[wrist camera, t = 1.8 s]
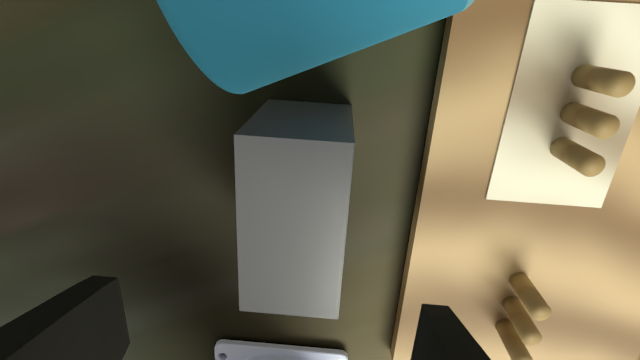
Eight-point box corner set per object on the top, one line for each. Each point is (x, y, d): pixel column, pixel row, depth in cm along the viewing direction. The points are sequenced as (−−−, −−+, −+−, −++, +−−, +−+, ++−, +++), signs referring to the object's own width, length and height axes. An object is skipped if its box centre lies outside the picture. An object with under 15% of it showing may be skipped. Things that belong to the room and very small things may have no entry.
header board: (612, 370, 22) (656, 427, 19) (390, 350, 23) (397, 403, 20) (793, -8, 15) (915, -17, 12) (454, -28, 15) (482, -40, 12)
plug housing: (339, 237, 20) (337, 319, 15) (268, 231, 20) (239, 310, 15) (351, 104, 17) (355, 143, 12) (268, 99, 18) (234, 134, 12)
